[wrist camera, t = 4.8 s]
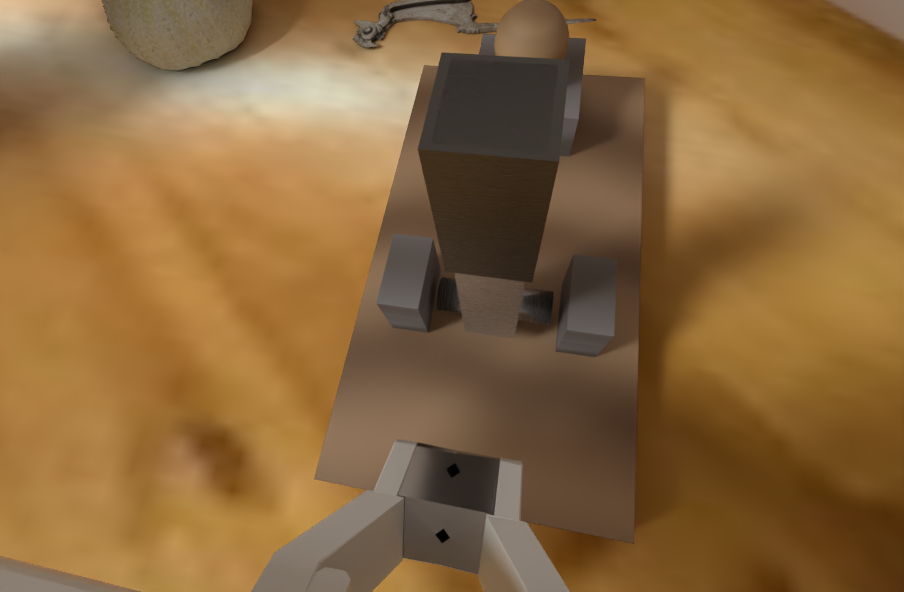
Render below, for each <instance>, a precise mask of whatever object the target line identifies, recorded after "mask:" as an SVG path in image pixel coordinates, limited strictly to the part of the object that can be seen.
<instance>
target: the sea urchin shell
mask: <svg viewBox="0 0 904 592" xmlns="http://www.w3.org/2000/svg"><path fill="white" fill-rule="evenodd" d="M102 2H103V4H104V6H103V7H104V8H105V13H106V14H107V21H108V22H109V24H110V28H111V30H112V31H114V33H115V36H116V37H117V38H118V39H120V41H121V42H122V43H123V44H124V45H125V47H126V48H128V49H129V51H130V53H133V54H134V55H136V57H137V59H140V60H143V61H144V62H147V63H149V64H151V65H153V66H155V67H157V68H162V69H163V70H175V71H178V70H183V69H186V68H189V67H194V66H195V67H197V66H200V65H201V64H202V63H204V62H206V61H208V60H212V59H219V57H220V56H222V55H224V54H225V53H227V52H229V51H231V50H233V49H235V48H237V46H238V45H239V44H240V43H241V42H243V40H244V38H245V36H246V33H247V30H248V28H249V26H250V24H251V23H252V20H251V17H252V5H253V0H102Z"/></svg>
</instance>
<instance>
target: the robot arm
mask: <svg viewBox="0 0 904 592" xmlns="http://www.w3.org/2000/svg"><path fill="white" fill-rule="evenodd" d="M522 472H523V464H522V461H518V460H512V459H506V458H499V457H493V456H487V455H481V454H476V453H470V452H464V451H457V450H453V449H448V448H443V447H438V446H433V445H429V444H424V443H419V442H418V443H416V442H412V441H407V440H402V439H397V440H396V441H395V443H394V444H393V447H392V449H391V451H390V454H389V456H388V458H387V461H386V463H385V465H384V467H383V470H382V472H381V474H380V477H379V479H378V481H377V484H376V486H375V488H374V490H373V491H369V490H366V491H365V492H363V493H362V494H361V495H359V496H358V497H356V498H355V499H353V500H352V501H350V502H349V503H347V504H346V505H344V506H343V507H341V508H340V509H338V510H337V511H335V512H334V513H332V514H331V515H329V516H328V517H327V518H325V519H324V520H322V521H321V522H319V523H318V524H316V525H315V526H313V527H312V528H310V529H309V530H307V531H306V532H304V533H303V534H301V535H300V536H298V537H297V538H295V539H294V540H293V541H291V542H290V543H288V544H287V545H285V546H284V547H282V548H281V549H279V550H278V551H276V552H275V553H274V555H273V556H272V558H271V560H270V561H269V563H268V565H267V566H266V568H265V570H264V571H263V573H262V575H261V576H260V578H259V580H258V581H257V583H256V585H255V586H254V588H253V590H252V591H251V592H372V591H373V590H374V589H375V588H376V587H377V586H378V585H379V584H380V583H381V582H382V581H383V580H384V579H385V578H386V577H387V576H388V575H389V574H390V573H391V572H392V570H393V569H394V568H395V567H396V566H397V565H398V564H399V563H400V562H401V561H402V558H406V559H411V560H417V561H422V562H427V563H433V564H438V565H440V564H441V565H442V566H446V567H450V568H454V569H458V570H462V571H466V572H470V573H474V574H478V578H479V580H480V583H481V586H482V588H483V591H484V592H570V591H569V589H568V588H567V586H566V584H565V583H564V581H563V580H562V578H561V576H560V575H559V573H558V572H557V570H556V568H555V567H554V565H553V563H552V562H551V560H550V559H549V557H548V555H547V554H546V552H545V551H544V549H543V547H542V546H541V544H540V542H539V541H538V539H537V538H536V536H535V534H534V533H533V531H532V530H531V528H530V526H529V525H528V523H527V522H523V521H520V519H521V495H522ZM0 592H140V591H136V590H132V589H128V588H124V587H120V586H116V585H112V584H109V583H105V582H101V581H97V580H93V579H89V578H85V577H81V576H77V575H73V574H69V573H65V572H62V571H58V570H54V569H50V568H46V567H42V566H38V565H34V564H30V563H26V562H22V561H18V560H15V559H11V558H7V557H3V556H0Z"/></svg>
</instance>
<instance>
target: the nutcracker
mask: <svg viewBox="0 0 904 592" xmlns="http://www.w3.org/2000/svg"><path fill="white" fill-rule="evenodd" d="M469 1H470V0H403V1H398V2H397V1H396V2H392V3H391V4H388V5H386V6H385V7H384V8H383V9H382V12H381V13H380V14H379V21H378V22H376V23H372V22H370V21H358V20H354V22H355V23H356V24H357V25H358V26H359V27H360V28H359V29H357V32H358V33H357V34H356V35H355V36H354V38H353V40H355V42H356V43H358V45H361V46H363V47H364V48H365V47H367V48H369V47H376V46H378V44H376V43H374V41H375V40H376V39H379V40H381V38H384V36H383V35H385V32H386V31H387V30H388V29H389V28H390V27H391V26H392V25H393V24H394V23H398V22H403V21H411V20H429V21H436V22H442V23H447V24H451V25H455V26H459V27H458V29H457V33H460V32H464V33H466V34H479V33H488V32H494V31H497V28H498V25H499V23H479V24H477V22H473V21H474V19H475V18H477V16H476V14H474V15H473V5H472V3H471V2H469ZM565 21H566V23H567V24H569V23H581V22H591V21H596V19H565Z"/></svg>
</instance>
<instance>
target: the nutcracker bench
mask: <svg viewBox="0 0 904 592" xmlns="http://www.w3.org/2000/svg"><path fill="white" fill-rule="evenodd" d="M585 43H586V39H582V38H569V32H568V26H567V23H566V21H565V18H564V16H563V15H562V13H561V12H560V11H559V9H558V8H557V7H556V6H554V5H553V4H551V3H550V2H548V1H545V0H525V1H522V2H520V3H518V4H516V5H515V6H513V7H512V8H511V9H510V10H509V11H508V12H507V13H506V14H505V15H504V16H503V18H502V20H501V21H500V23H499V25H498V28H497V31H496V34H483V38H482V43H481V47H480V52H479V55H493V56H512V57H530V58H548V59H566V60H570V65H569V74H568V84H567V93H566V103H565V112H564V121H563V131H562V140H561V150H560V159H559V165H558V169H557V174H556V178H555V183H554V187H553V192H552V196H551V201H550V205H549V210H548V214H547V219H546V224H545V228H544V233H543V237H542V242H541V246H540V251H539V255H538V260H537V264H536V269H535V273H534V278H533V282H532V283H530V282H525V283H524V287H525V288H533V289H541V290H549V291H553V292H554V298H553V308H552V315H551V320H550V324H549V325H544V324H537V323H529V322H522V321H517V327H516V333H515V338H514V339H513V338H506V337H499V336H492V335H485V334H478V333H472V332H465V329H464V323H463V318H462V313H457V312H450V311H443V310H438V309H437V293H438V287H439V283H440V280H441V278H442V277H447V278H455V274H454V273H451V272H445V268H444V264H443V259H442V255H441V250H440V246H439V241H438V237H437V233H436V228H435V224H434V219H433V215H432V211H431V206H430V202H429V197H428V193H427V188H426V184H425V180H424V175H423V171H422V166H421V162H420V157H419V153H418V146H419V142H420V138H421V134H422V130H423V126H424V122H425V118H426V114H427V110H428V106H429V102H430V98H431V94H432V90H433V86H434V82H435V78H436V74H437V70H438V66H426V65H424V68H423V72H422V75H421V79H420V83H419V87H418V90H417V94H416V98H415V102H414V105H413V109H412V113H411V117H410V120H409V124H408V128H407V132H406V135H405V139H404V143H403V147H402V151H401V154H400V158H399V162H398V166H397V169H396V173H395V177H394V181H393V184H392V188H391V192H390V196H389V199H388V203H387V207H386V211H385V214H384V218H383V222H382V226H381V229H380V233H379V237H378V241H377V244H376V248H375V252H374V256H373V259H372V263H371V267H370V271H369V275H368V278H367V282H366V286H365V290H364V293H363V297H362V301H361V305H360V308H359V312H358V316H357V320H356V323H355V327H354V331H353V335H352V338H351V342H350V346H349V350H348V353H347V357H346V361H345V365H344V368H343V372H342V376H341V380H340V383H339V387H338V391H337V395H336V399H335V402H334V406H333V410H332V414H331V417H330V421H329V425H328V429H327V432H326V436H325V440H324V444H323V447H322V451H321V455H320V459H319V462H318V466H317V470H316V474H315V477H314V479H316V480H320V481H325V482H330V483H335V484H340V485H345V486H350V487H355V488H360V489H365V490H370V491H373V490H374V488H375V486H376V484H377V481H378V479H379V477H380V474H381V472H382V470H383V467H384V465H385V463H386V461H387V458H388V456H389V454H390V451H391V449H392V447H393V444H394V443H395V441H396V440H397V439H402V440H407V441H412V442H416V443H418V442H419V443H424V444H429V445H433V446H438V447H443V448H448V449H453V450H457V451H464V452H470V453H476V454H481V455H487V456H493V457H499V458H506V459H512V460H518V461H522V464H523V472H522V495H521V519H520V521H524V522H529V523H534V524H539V525H544V526H549V527H554V528H559V529H564V530H568V531H573V532H578V533H583V534H588V535H593V536H598V537H603V538H608V539H613V540H618V541H623V542H628V543H633V544H634V525H635V481H636V437H637V393H638V349H639V306H640V262H641V218H642V174H643V130H644V86H645V78H629V77H612V76H595V75H583V65H584V54H585Z"/></svg>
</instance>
